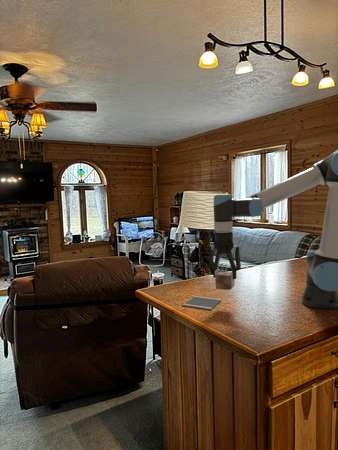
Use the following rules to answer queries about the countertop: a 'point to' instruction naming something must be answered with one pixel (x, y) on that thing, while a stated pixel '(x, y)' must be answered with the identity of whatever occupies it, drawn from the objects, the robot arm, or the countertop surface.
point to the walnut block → (223, 280)
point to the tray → (202, 303)
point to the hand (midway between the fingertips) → (224, 285)
